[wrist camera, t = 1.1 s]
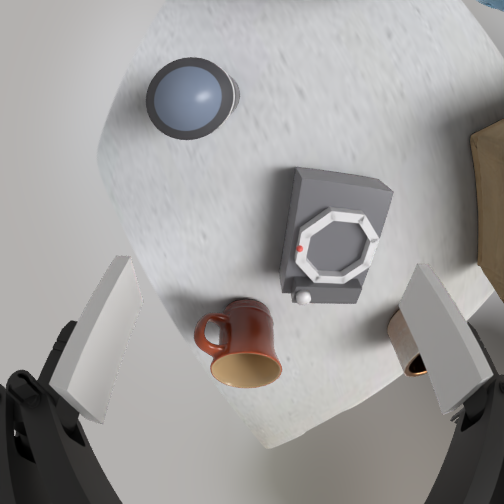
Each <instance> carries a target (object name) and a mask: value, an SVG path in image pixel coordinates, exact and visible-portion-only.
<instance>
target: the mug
mask: <svg viewBox="0 0 504 504" xmlns="http://www.w3.org/2000/svg"><path fill="white" fill-rule="evenodd" d="M207 322H213V323H215V324H217V325H218V326H219V327H220V331H219V345H215V344H212V343H210V342H209V341H208V340H207V339H206V338H205V335H204V331H205V326H206V324H207ZM194 340H195V343H196V345H197V346H198V347H199V348H200V349H201V350H203V351H204V352H206V353H207V354H209V355H211V356H212V357H213V361H212V363H211V366H210V369H211V373H212V375H213V376H214V377H215V378H216V379H217V380H218V381H220V382H221V383H223V384H226V385H229V386H232V387H238V388H256V387H261V386H265V385H268V384H270V383H272V382H274V381H275V380H276V379H278V377H279V376H280V375H281V372H282V366H281V364H280V362H279V360H278V358H277V355H276V353H275V349H274V332H273V319H272V317H271V315H270V311H269V309H268V308H267V307H266V306H265V305H264V304H262V303H260V302H258V301H255V300H250V299H243V300H237V301H234V302H232V303H231V304H229V305H228V306H227V307H226V308H225V309H224V311H223V313H208V314H206V315H204V316H203V317H202V318H201V319H200V320H199V321H198V323H197V325H196V327H195V331H194Z"/></svg>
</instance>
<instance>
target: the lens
mask: <svg viewBox="0 0 504 504" xmlns="http://www.w3.org/2000/svg"><path fill="white" fill-rule="evenodd" d="M239 99H240V91H239V87H238V85H237V83H236V82H235V81H234V80H233V79H232V78H231V77H230V76H229V75H228V74H227V73H226V72H225V71H224V70H223V69H222V68H221V67H219V66H218V65H216V64H215V63H212V62H210V61H208V60H205V59H202V58H192V57H190V58H182V59H178V60H176V61H173V62H171V63H169V64H167V65H166V66H164V67H163V68H162V69H161V70H160V71H159V72H158V73H157V74H156V75H155V76H154V78H153V79H152V81H151V83H150V85H149V88H148V91H147V95H146V107H147V112H148V115H149V117H150V119H151V121H152V122H153V124H154V125H155V126H156V127H157V129H159V130H160V131H161V132H162V133H164V134H165V135H167V136H170V137H172V138H175V139H180V140H193V139H198V138H201V137H204V136H206V135H208V134H210V133H212V132H213V131H215V130H216V129H217V128H219V127H220V126H221V125H222V124H223V123H224V122H225V121H226V119H227V118H228V117H229V115H230V114H231V113H232V112H233V111H234V110H235V109H236V107H237V105H238V103H239Z"/></svg>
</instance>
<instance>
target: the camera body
mask: <svg viewBox="0 0 504 504" xmlns="http://www.w3.org/2000/svg"><path fill="white" fill-rule="evenodd" d="M392 196H393V191H392V190H391V189H390V188H388V187H387V186H386V185H385V184H384V183H382V182H381V181H380V180H379V179H374V178H369V177H363V176H357V175H351V174H345V173H338V172H332V171H324V170H317V169H309V168H301V167H296V168H295V175H294V182H293V189H292V196H291V203H290V209H289V216H288V222H287V229H286V235H285V241H284V247H283V253H282V259H281V265H280V271H279V274H280V282H281V289H282V293H291V297H292V303H298V304H300V305H306V304H308V303H337V304H356V303H357V300H358V298H359V295H360V293H361V290H362V285H363V283H364V280H365V278H366V275H367V272H368V270H369V267H370V265H371V262H372V260H373V257H374V254H375V251H376V248H377V245H378V242H379V239H380V236H381V233H382V229H383V226H384V223H385V220H386V217H387V213H388V210H389V207H390V203H391V200H392Z"/></svg>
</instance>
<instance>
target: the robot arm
mask: <svg viewBox="0 0 504 504" xmlns="http://www.w3.org/2000/svg"><path fill="white" fill-rule="evenodd" d="M476 1H478V2H479V3H481V4H483V5H486V6H488V7H491V8H495V9H499V10H500V11H503V12H504V0H476ZM143 302H144V301H143V297H142V294H141V291H140V288H139V284H138V281H137V277H136V274H135V270H134V267H133V263H132V259H131V256H116V257H115V258H114V260H113V261H112V263H111V264H110V266H109V268H108V269H107V271H106V273H105V274H104V276H103V278H102V279H101V281H100V283H99V284H98V286H97V288H96V290H95V291H94V293H93V295H92V297H91V298H90V300H89V302H88V304H87V305H86V307H85V309H84V311H83V313H82V315H81V317H80V318H79V320H78V322H77V321H70V322H69V323H68V324H67V325H66V326H65V327H64V328H63V329H62V330H61V332H60V334H59V336H58V338H57V342H55V344H54V346H53V350H52V351H51V352H50V354H49V356H48V358H47V360H46V363H45V365H44V367H43V369H42V371H41V374H40V376H39V378H38V380H35V378H34V377H33V376H32V375H31V374H30V373H29V372H28V371H25V370H18V371H16V372H14V373H13V374H12V375H11V376H10V378H9V379H8V382H7V384H6V389H5V388H4V387H3V386H2V385H1V384H0V504H122V502H121V501H120V499H119V497H118V496H117V494H116V493H115V491H114V489H113V488H112V486H111V484H110V483H109V481H108V479H107V477H106V475H105V474H104V472H103V470H102V468H101V466H100V464H99V462H98V460H97V458H96V456H95V454H94V452H93V450H92V448H91V446H90V444H89V442H88V439H87V437H86V435H85V433H84V430H83V428H82V425H81V423H80V422H79V420H78V416H79V413H80V414H81V415H82V416H83V417H84V418H86V419H88V420H90V421H94V422H97V423H100V424H103V422H104V418H105V415H106V411H107V407H108V404H109V401H110V397H111V394H112V391H113V387H114V384H115V381H116V378H117V375H118V372H119V368H120V365H121V362H122V359H123V356H124V354H125V350H126V348H127V345H128V342H129V339H130V337H131V334H132V331H133V328H134V325H135V323H136V320H137V318H138V315H139V313H140V310H141V307H142V305H143ZM398 306H399V308H400V310H401V312H402V314H403V316H404V318H405V320H406V323H407V325H408V327H409V329H410V331H411V334H412V336H413V338H414V340H415V343H416V345H417V347H418V350H419V352H420V355H421V357H422V360H423V362H424V365H425V367H426V370H427V372H428V375H429V377H430V380H431V383H432V386H433V388H434V391H435V394H436V397H437V400H438V402H439V406H440V409H441V412H442V414H446V413H448V412H451V411H454V410H455V409H457V408H458V407H459V406H460V405H461V404H463V405H464V408H463V409H461V410H460V411H459V412H458V413H456V414H455V415H454V416H453V417H452V418H451V420H450V421H453V420H455V419H456V418H457V417H459V418H458V419H457V420H456V421H455V423H456V424H457V425H456V429H455V432H454V435H453V438H452V441H451V444H450V447H449V450H448V452H447V455H446V457H445V460H444V463H443V465H442V467H441V470H440V472H439V474H438V477H437V479H436V481H435V483H434V485H433V487H432V490H431V492H430V494H429V496H428V498H427V500H426V502H425V503H424V504H504V375H499V374H498V372H497V371H496V369H495V366H494V364H493V362H492V360H491V358H490V356H489V354H488V352H487V350H486V348H484V344H483V343H482V341H480V337H479V335H478V333H477V331H476V330H475V329H474V328H473V327H472V326H471V325H470V324H469V322H466V321H465V319H464V317H463V315H462V314H461V312H460V310H459V309H458V307H457V306H456V304H455V302H454V301H453V299H452V298H451V296H450V294H449V293H448V291H447V290H446V288H445V287H444V285H443V284H442V282H441V281H440V279H439V278H438V276H437V275H436V274H435V272H434V271H433V269H432V268H431V267H430V265H429V264H417V265H416V268H415V270H414V272H413V275H412V277H411V279H410V281H409V284H408V286H407V288H406V290H405V292H404V294H403V296H402V299H401V301H400V303H399V305H398ZM14 430H16V435H15V436H14Z"/></svg>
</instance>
